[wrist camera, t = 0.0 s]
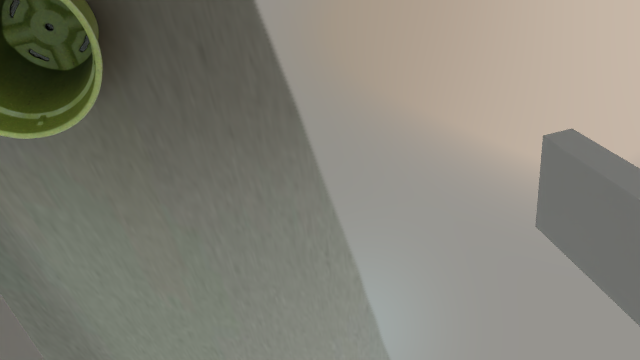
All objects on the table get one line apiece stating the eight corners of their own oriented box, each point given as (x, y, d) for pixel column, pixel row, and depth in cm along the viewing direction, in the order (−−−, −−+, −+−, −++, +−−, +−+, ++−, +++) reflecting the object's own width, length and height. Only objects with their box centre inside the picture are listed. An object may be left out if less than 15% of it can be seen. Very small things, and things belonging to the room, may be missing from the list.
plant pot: (145, -2, 34) (127, 23, 26) (97, 112, 37) (69, 163, 29) (-2, -80, 30) (-72, -77, 23) (-42, 54, 33) (-115, 95, 26)
